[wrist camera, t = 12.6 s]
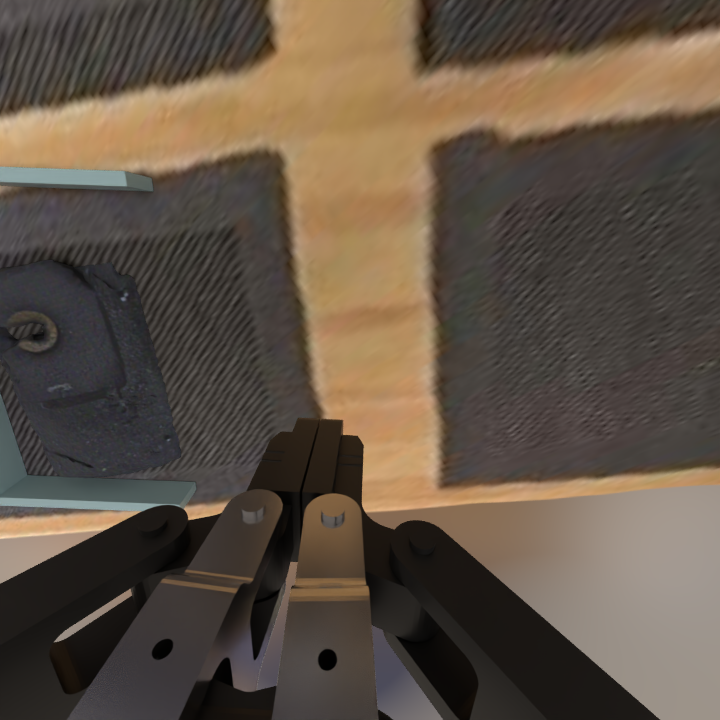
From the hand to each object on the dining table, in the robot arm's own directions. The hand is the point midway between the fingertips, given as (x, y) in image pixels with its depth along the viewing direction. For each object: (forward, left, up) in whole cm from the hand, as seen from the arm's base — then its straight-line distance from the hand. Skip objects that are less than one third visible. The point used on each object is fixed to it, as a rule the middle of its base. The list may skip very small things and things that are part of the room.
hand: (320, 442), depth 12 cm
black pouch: (+7, -26, -23) cm, 35 cm away
